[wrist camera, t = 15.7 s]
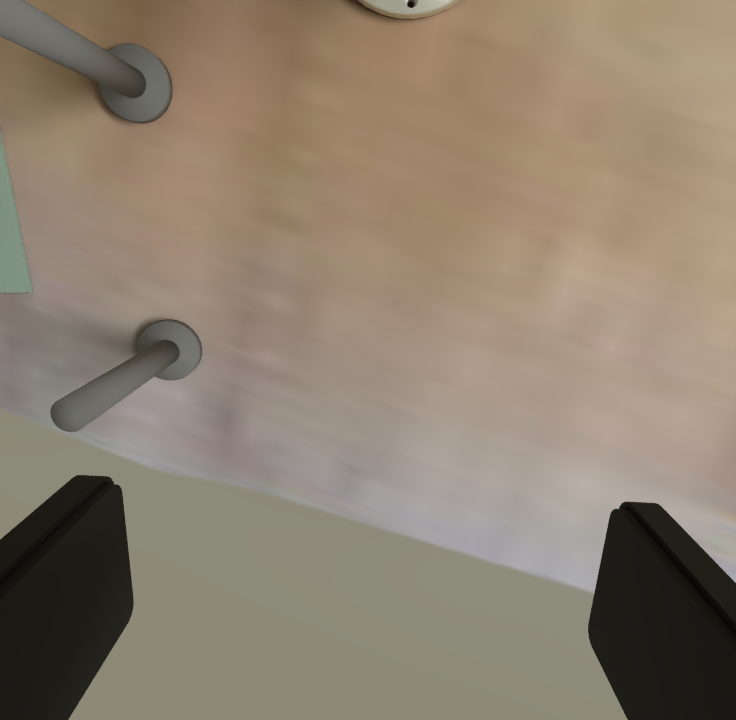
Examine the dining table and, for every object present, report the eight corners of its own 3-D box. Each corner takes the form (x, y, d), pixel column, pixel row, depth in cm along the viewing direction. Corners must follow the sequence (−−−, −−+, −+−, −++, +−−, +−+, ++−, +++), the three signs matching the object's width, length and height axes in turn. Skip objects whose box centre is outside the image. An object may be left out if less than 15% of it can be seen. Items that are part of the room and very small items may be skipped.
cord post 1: (99, 48, 36) (-84, -61, 22) (167, 46, 36) (28, -65, 22) (110, 124, 38) (-56, 67, 23) (176, 122, 38) (50, 64, 23)
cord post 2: (138, 320, 42) (14, 374, 28) (197, 318, 42) (104, 371, 27) (147, 377, 43) (34, 457, 29) (205, 375, 43) (120, 455, 29)
